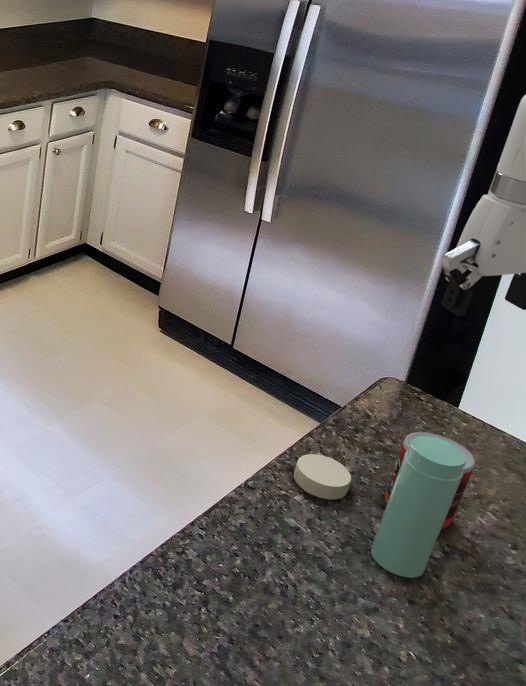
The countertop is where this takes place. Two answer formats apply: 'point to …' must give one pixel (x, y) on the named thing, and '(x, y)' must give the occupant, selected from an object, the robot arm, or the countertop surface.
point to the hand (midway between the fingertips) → (484, 307)
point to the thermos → (418, 506)
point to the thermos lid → (322, 476)
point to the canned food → (463, 483)
